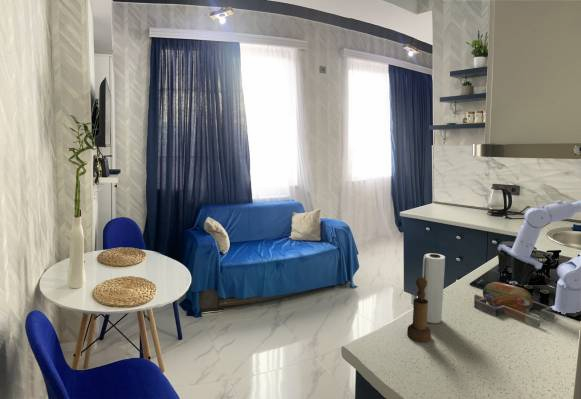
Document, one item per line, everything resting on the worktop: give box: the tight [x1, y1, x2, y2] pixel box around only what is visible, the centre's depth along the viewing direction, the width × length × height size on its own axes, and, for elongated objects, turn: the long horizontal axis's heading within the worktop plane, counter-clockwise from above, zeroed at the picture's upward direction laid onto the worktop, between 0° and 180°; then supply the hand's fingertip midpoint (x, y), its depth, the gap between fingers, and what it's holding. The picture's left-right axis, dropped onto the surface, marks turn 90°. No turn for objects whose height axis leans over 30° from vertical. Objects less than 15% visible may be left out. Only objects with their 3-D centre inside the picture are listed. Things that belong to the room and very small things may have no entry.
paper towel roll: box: [422, 253, 446, 324], centre depth 121 cm, size 7×6×21 cm
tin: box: [482, 281, 534, 314], centre depth 130 cm, size 15×3×8 cm, turn 44°
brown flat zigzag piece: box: [473, 294, 556, 329], centre depth 128 cm, size 17×22×2 cm
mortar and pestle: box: [407, 276, 432, 343], centre depth 111 cm, size 7×6×18 cm
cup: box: [511, 254, 535, 285], centre depth 150 cm, size 8×8×12 cm
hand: (510, 277), depth 133 cm, fingers open, 7 cm apart
